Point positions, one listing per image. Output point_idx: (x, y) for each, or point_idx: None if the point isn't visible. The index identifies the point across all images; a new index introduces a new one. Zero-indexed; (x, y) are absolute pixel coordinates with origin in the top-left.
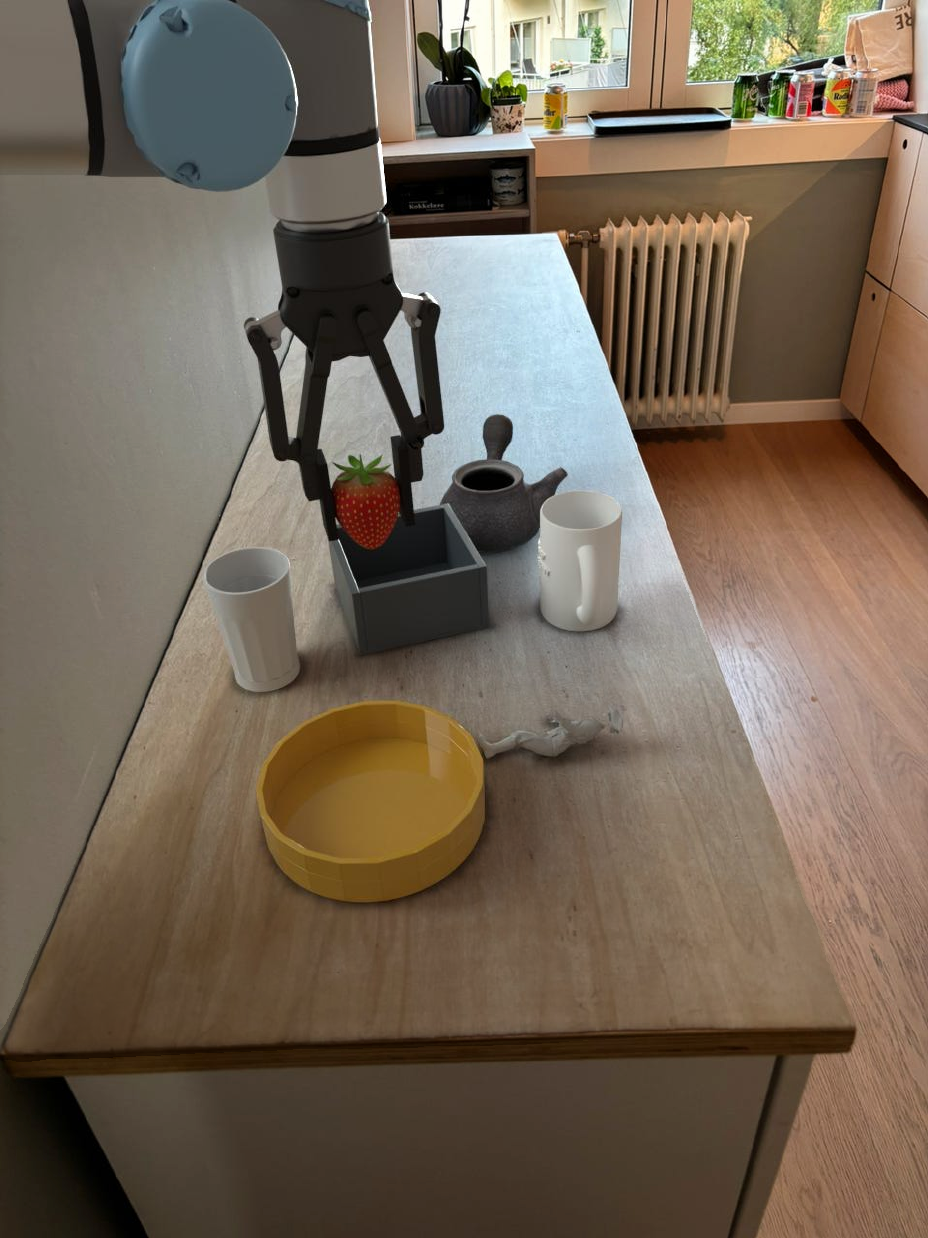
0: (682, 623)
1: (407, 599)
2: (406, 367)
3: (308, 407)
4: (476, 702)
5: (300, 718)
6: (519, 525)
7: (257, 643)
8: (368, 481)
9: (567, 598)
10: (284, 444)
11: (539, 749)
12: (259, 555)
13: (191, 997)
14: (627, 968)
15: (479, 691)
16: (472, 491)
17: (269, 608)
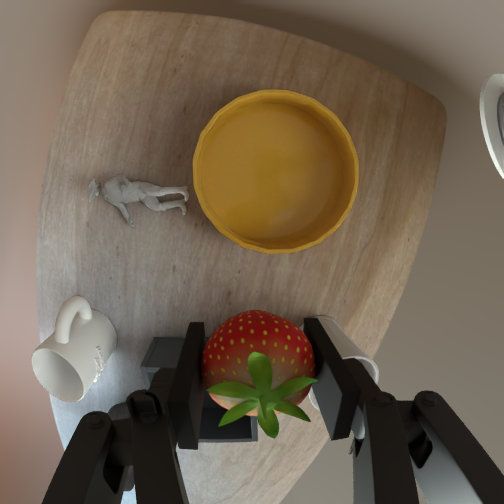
0: (40, 293)
1: None
2: None
3: (411, 484)
4: (179, 261)
5: (306, 282)
6: (118, 413)
7: (336, 333)
8: (258, 365)
9: (92, 326)
10: (433, 412)
11: (149, 183)
12: None
13: (385, 88)
14: (166, 35)
15: (174, 272)
16: None
17: None
